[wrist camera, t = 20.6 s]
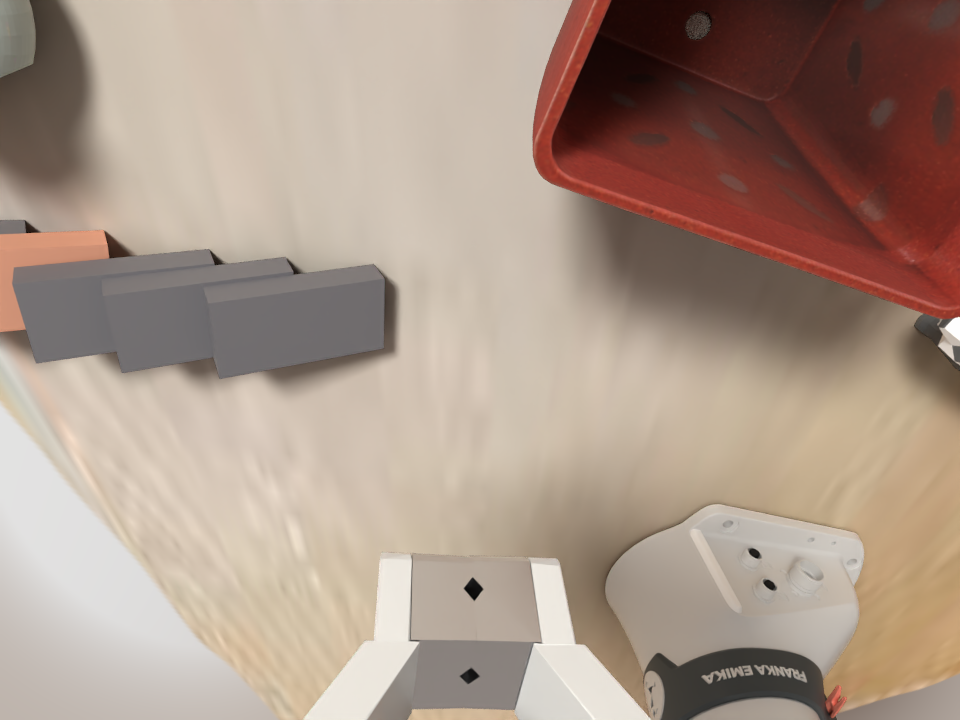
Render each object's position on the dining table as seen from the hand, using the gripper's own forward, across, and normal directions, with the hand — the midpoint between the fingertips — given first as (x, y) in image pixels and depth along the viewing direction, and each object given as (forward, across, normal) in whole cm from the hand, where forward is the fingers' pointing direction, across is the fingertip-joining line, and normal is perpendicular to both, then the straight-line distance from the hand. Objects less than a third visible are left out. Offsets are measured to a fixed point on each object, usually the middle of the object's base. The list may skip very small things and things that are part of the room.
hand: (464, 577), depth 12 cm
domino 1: (+30, +3, +12) cm, 33 cm away
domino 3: (+30, +13, +12) cm, 35 cm away
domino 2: (+30, +8, +12) cm, 34 cm away
